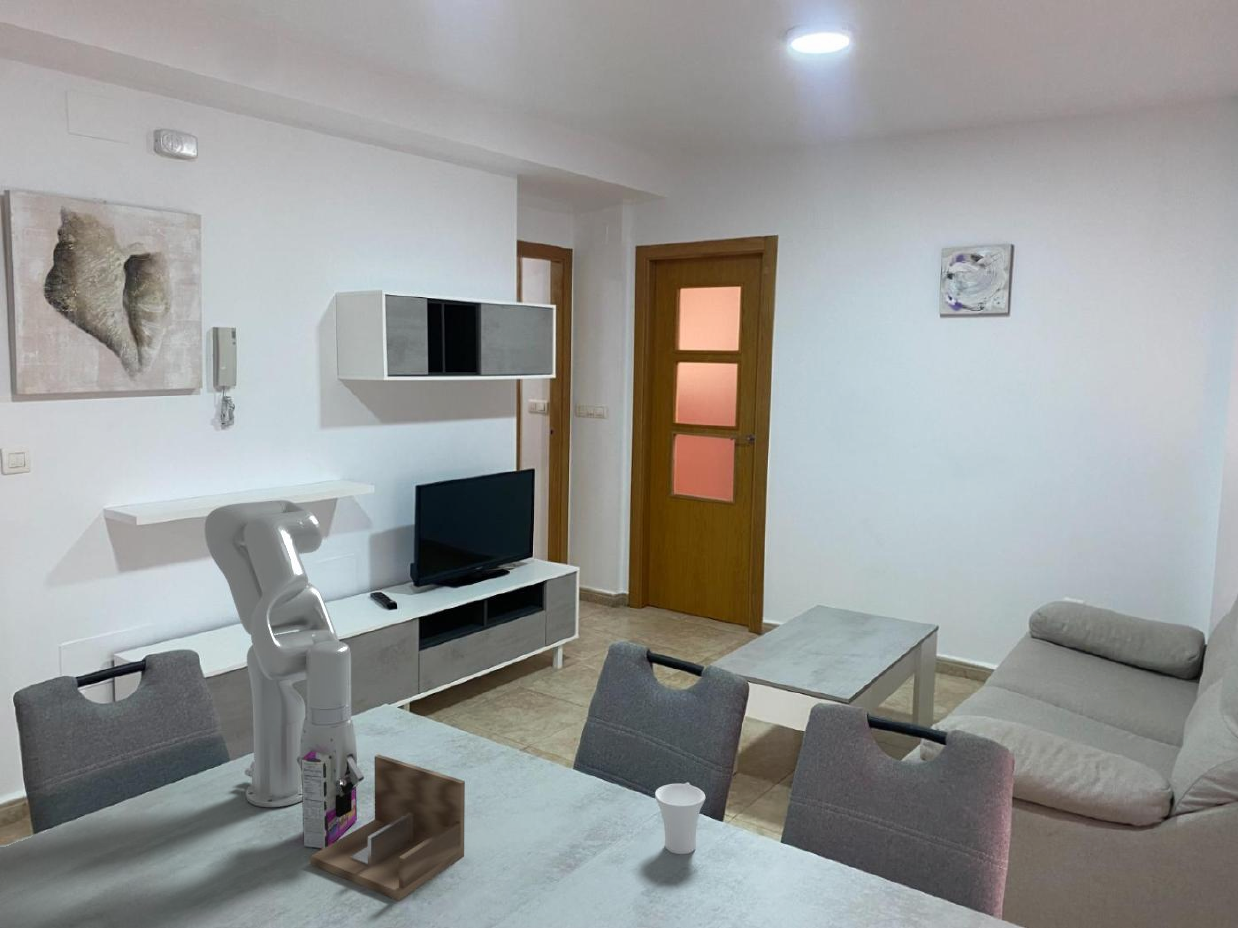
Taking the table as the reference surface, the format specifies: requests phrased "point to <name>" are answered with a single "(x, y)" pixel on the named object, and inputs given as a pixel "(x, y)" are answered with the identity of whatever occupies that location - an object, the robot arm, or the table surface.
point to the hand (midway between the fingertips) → (329, 808)
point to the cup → (680, 815)
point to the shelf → (433, 830)
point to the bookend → (386, 841)
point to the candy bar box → (322, 803)
